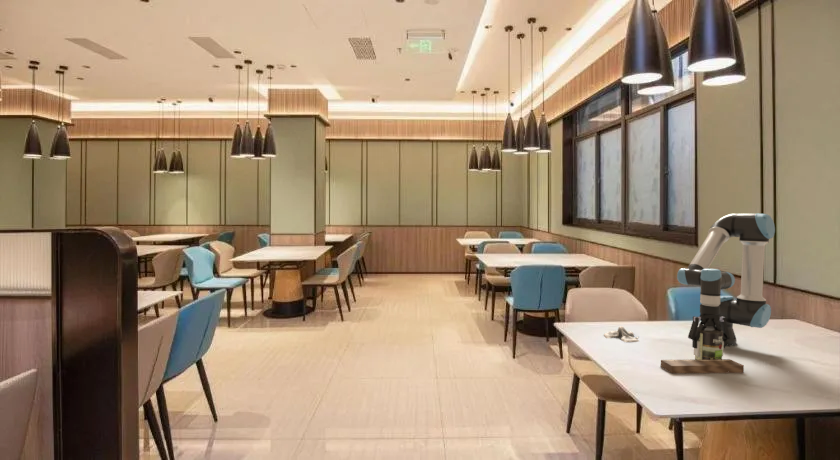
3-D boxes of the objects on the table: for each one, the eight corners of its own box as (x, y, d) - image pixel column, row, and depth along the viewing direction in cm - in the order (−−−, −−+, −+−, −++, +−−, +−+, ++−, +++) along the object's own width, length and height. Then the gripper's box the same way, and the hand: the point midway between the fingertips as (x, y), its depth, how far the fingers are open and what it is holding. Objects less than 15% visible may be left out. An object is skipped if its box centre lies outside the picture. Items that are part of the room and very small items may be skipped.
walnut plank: (729, 366, 203) (729, 359, 203) (743, 372, 195) (743, 365, 195) (660, 366, 201) (660, 359, 201) (671, 373, 193) (671, 365, 193)
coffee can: (727, 363, 207) (728, 330, 206) (712, 366, 202) (713, 333, 202) (703, 356, 216) (704, 325, 215) (689, 359, 211) (690, 328, 211)
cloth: (636, 345, 237) (636, 332, 236) (598, 338, 248) (598, 326, 248) (647, 336, 254) (648, 325, 254) (611, 330, 265) (612, 319, 265)
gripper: (729, 302, 212) (727, 352, 213) (679, 302, 211) (678, 353, 212) (741, 306, 205) (739, 357, 206) (690, 306, 204) (688, 358, 205)
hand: (708, 355), depth 209 cm, fingers closed on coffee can, 10 cm apart
